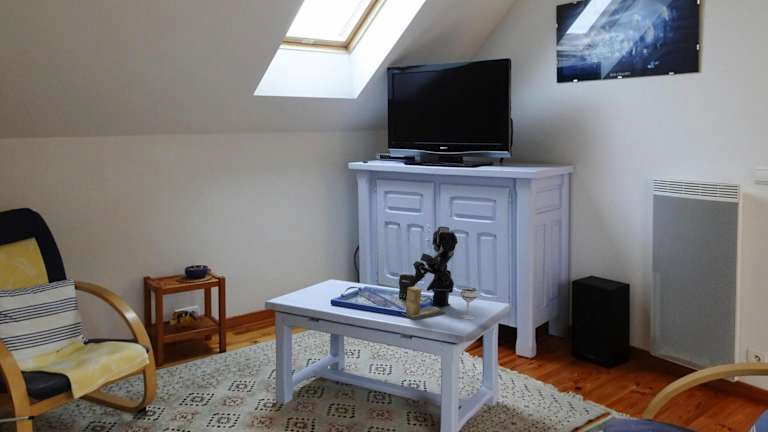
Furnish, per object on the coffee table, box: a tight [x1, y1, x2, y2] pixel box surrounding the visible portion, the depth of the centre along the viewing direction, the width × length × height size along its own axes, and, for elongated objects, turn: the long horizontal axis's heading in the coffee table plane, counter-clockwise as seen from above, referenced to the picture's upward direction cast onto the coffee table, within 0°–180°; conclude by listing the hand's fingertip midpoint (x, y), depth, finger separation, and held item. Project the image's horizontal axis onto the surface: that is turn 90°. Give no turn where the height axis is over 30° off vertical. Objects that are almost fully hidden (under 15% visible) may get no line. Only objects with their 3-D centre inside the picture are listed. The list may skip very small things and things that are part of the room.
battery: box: [398, 272, 416, 300], centre depth 297 cm, size 7×4×11 cm, turn 70°
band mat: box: [401, 305, 446, 321], centre depth 279 cm, size 17×11×2 cm, turn 129°
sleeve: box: [405, 286, 422, 316], centre depth 274 cm, size 4×4×11 cm
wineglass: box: [460, 286, 478, 320], centre depth 277 cm, size 7×7×12 cm
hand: (420, 287), depth 276 cm, fingers open, 9 cm apart
